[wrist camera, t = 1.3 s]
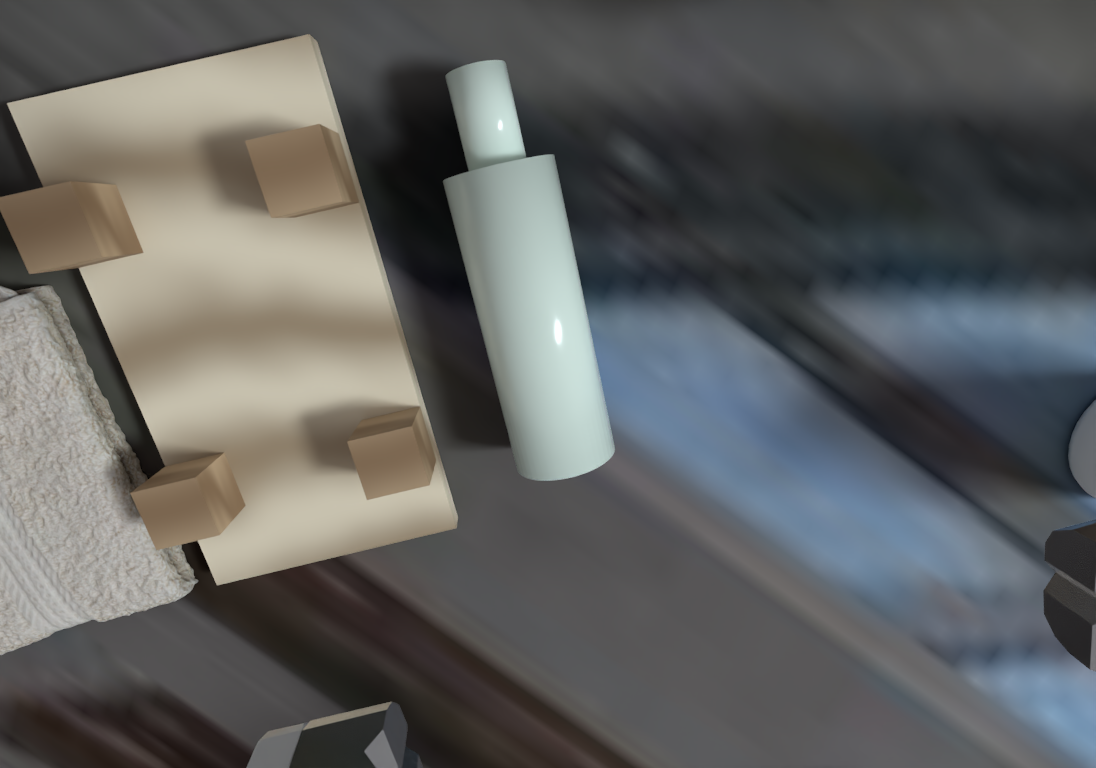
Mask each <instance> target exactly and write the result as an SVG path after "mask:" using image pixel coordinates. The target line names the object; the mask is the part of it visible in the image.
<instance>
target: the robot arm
mask: <svg viewBox="0 0 1096 768" xmlns="http://www.w3.org/2000/svg"><path fill="white" fill-rule="evenodd" d="M1045 561H1046V562H1047V563H1048V564H1049V566H1050V567H1051V568H1052V569H1053V570H1054V571H1055V572H1056V573H1055V574H1054V576H1053V577H1052V579H1051V580H1050V582H1049V583H1048V585H1047V586H1046V588H1045V589H1044V615H1045V617H1046V619H1047V621H1048V623H1049V625H1050V627H1051V629H1052V631H1053V633H1054V635H1055V637H1056V638H1057V639H1058V640H1059V642H1060V643H1061V644H1062V645H1063V646H1064V647H1065V649H1066V650H1067V651H1068V652H1069V653H1070V654H1071V655H1072V656H1074V657H1075V658H1076V659H1077V660H1079V661H1080V662H1081V663H1083V664H1084V665H1085V666H1086V667H1088V668H1089V669H1090V670H1093V671H1096V519H1095V520H1091V521H1087V522H1084V523H1080V524H1076V525H1072V526H1069V527H1065V528H1061V529H1057V530H1054V531H1053V532H1052V533H1051V535H1050V536H1049V538H1048V539H1047V541H1046V542H1045ZM407 728H408V725H407V723H406V720H405V718H404V716H403V713H402V711H401V708H400V706H399V704H396V703H394V702H388V703H384V704H380V705H376V706H371V707H367V708H363V709H358V710H354V711H350V712H345V713H341V714H337V715H333V716H328V717H324V718H320V719H315V720H311V721H310V722H308V723H302V724H298V725H294V726H289V727H285V728H281V729H276V730H272V731H268V732H267V733H266V734H265V735H264V736H263V737H262V738H261V739H260V740H259V741H258V743H257V744H256V747H255V749H254V751H253V754H252V756H251V758H250V761H249V763H248V765H247V768H423V766H422V763H421V760H420V757H419V755H418V754H417V753H415V752H414V751H412V750H410V749H409V748H407V747H405V743H406V735H407Z"/></svg>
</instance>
